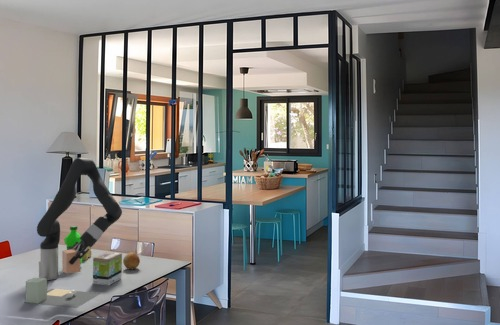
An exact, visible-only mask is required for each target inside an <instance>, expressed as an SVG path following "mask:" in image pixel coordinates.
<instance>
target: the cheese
mask: <svg viewBox="0 0 500 325" xmlns="http://www.w3.org/2000/svg"><path fill="white" fill-rule="evenodd" d="M87 248H88V249H89V251H88V252H87V253H86V254H85V255H84V256H83V257H82V261H87V260H89V258H91V257H92V247H89V246H88V247H87ZM88 257H89V258H88Z"/></svg>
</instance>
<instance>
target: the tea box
mask: <svg viewBox="0 0 500 325" xmlns="http://www.w3.org/2000/svg"><path fill="white" fill-rule="evenodd" d="M92 258H93V259H92V284H93V285H103V286H110V285H111V284H114V283H116V282H118V281H119V280H121V279H122V275H123V274H122V269H123V268H122V267H123V265H122V264H123V253H121V252H112V251H111V252H109V251H107V252H103V253H101V254H98V255H97V256H94V257H92Z"/></svg>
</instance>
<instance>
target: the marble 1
mask: <svg viewBox="0 0 500 325" xmlns="http://www.w3.org/2000/svg"><path fill="white" fill-rule="evenodd" d="M66 296H67V298H72V296H73V293H72V292H68V293H67V295H66Z"/></svg>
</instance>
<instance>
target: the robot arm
mask: <svg viewBox="0 0 500 325" xmlns="http://www.w3.org/2000/svg"><path fill="white" fill-rule="evenodd" d="M81 176H87V177H88V178H89V179H90V181H91V182H92V189H93V193H94V195H95V197H96V198H97V201H98V202H99V203H100V204H101V205H102V207H103V209H104V210H105V212H106V214H104V215H103V216H99V217H98V218H97V219H96V220H95V221H94V222H93V223H92V224H90V225H89V227H88V228H87V229H86V230H85V231H84V232H83V234H81V237H80V239H81V241H80V242H79V243H78V242H76V243H75V244H74V245H73V246H72V248H71V249H72V250H74V249H75V250H76V252H77V253H76V254H75V255H74V257H73V258H72V259H71V260H70V261H69V263H70V264H71V265H73V264H74V263H75V261H76V260H77V259H79V258H80V259H81V258H82V257H83V256H84V255H85V254H86V253H87V252H88V251H89V249H88V248H87V247H88V246H89V247H91V248H93V247H94V245H95V244H96V243H97V242H98V241H99V240H100V238H101V237H102V236H103V234H104V233H105V232H106V231H107V230H108V228H109V227H110V226H112V225H113V224H114V223H116V222H117V221H119V219H121V217H122V215H123V210H122V208H121V206H120V205H119V203H118V202H117V200H116V199H115V197H113V194H112V193H111V191H110V190H109V189H108V187H107V185H105V183H104V180H103V178H102V176H101V174H100V172H99V170H98V167H97V164H96V163H95V161H94V160H93V159H91V158H87V157H76V158H75V159H74V160H73V161H72V162H71V165H70V167H69V170H68V171H67V174H66V176H65V178H64V180H63V182H62V184H61V186H60V188H59V189H58V191H57V193H56V195H55V197H54V199H52V202H51V204H50V206H49V207H48V209H47V210H46V212H45V214H44V215H43V216H42V217H41V219H40V221H39V222H38V224H37V226H36V233H37V235H38V236H40V237H43V238H44V237H45V238H44V240H42V242H41V243H40V247H39V249H40V259H39V260H40V261H39V262H38V278H45V279H47V281H53V280H57V279H58V278H59V244H60V241H61V240H60V239H61V225H60V222H59V220H58V219H59V217H60V216H61V215H62V214H63V213H65V212H66V211H67V210H68V209H69V208H70V206H71V205H72V204H73V201H74V200H75V198H76V194H77V192H76V191H77V189H76V184H77V181H78V180H79V178H80V177H81ZM71 249H70V250H71ZM79 251H80V252H79Z"/></svg>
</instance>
